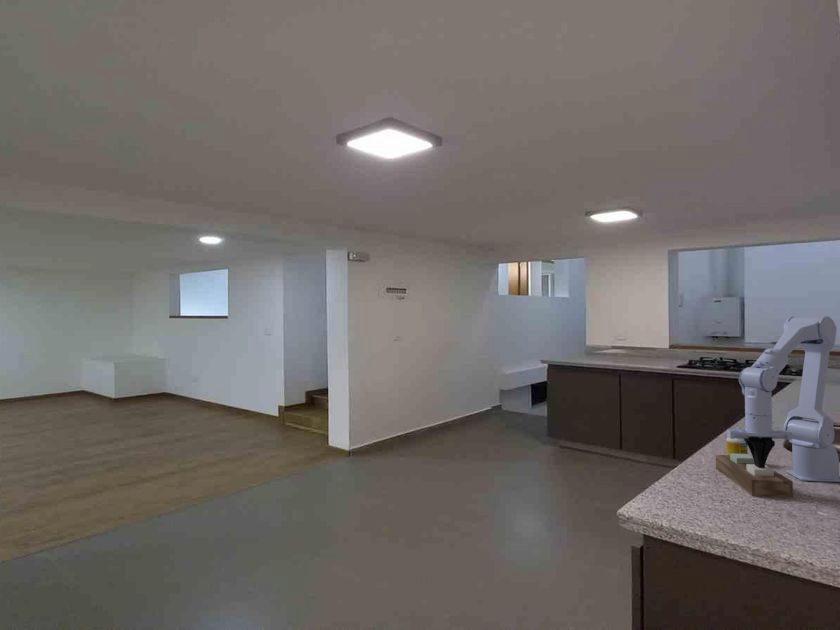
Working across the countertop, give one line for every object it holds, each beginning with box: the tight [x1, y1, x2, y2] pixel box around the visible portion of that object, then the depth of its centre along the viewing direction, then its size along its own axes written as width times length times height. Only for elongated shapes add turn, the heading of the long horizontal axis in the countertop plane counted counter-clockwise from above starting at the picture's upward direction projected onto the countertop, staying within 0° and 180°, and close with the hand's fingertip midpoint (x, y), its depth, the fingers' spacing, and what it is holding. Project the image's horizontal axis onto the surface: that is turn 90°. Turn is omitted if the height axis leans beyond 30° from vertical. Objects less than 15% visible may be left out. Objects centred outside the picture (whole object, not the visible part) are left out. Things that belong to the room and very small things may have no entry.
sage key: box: [730, 453, 755, 464], centre depth 135 cm, size 4×4×3 cm
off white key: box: [746, 464, 775, 476], centre depth 125 cm, size 4×4×3 cm
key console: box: [715, 454, 794, 499], centre depth 130 cm, size 9×22×4 cm, turn 169°
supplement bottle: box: [725, 429, 749, 455], centre depth 147 cm, size 5×5×10 cm
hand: (759, 466), depth 125 cm, fingers closed
